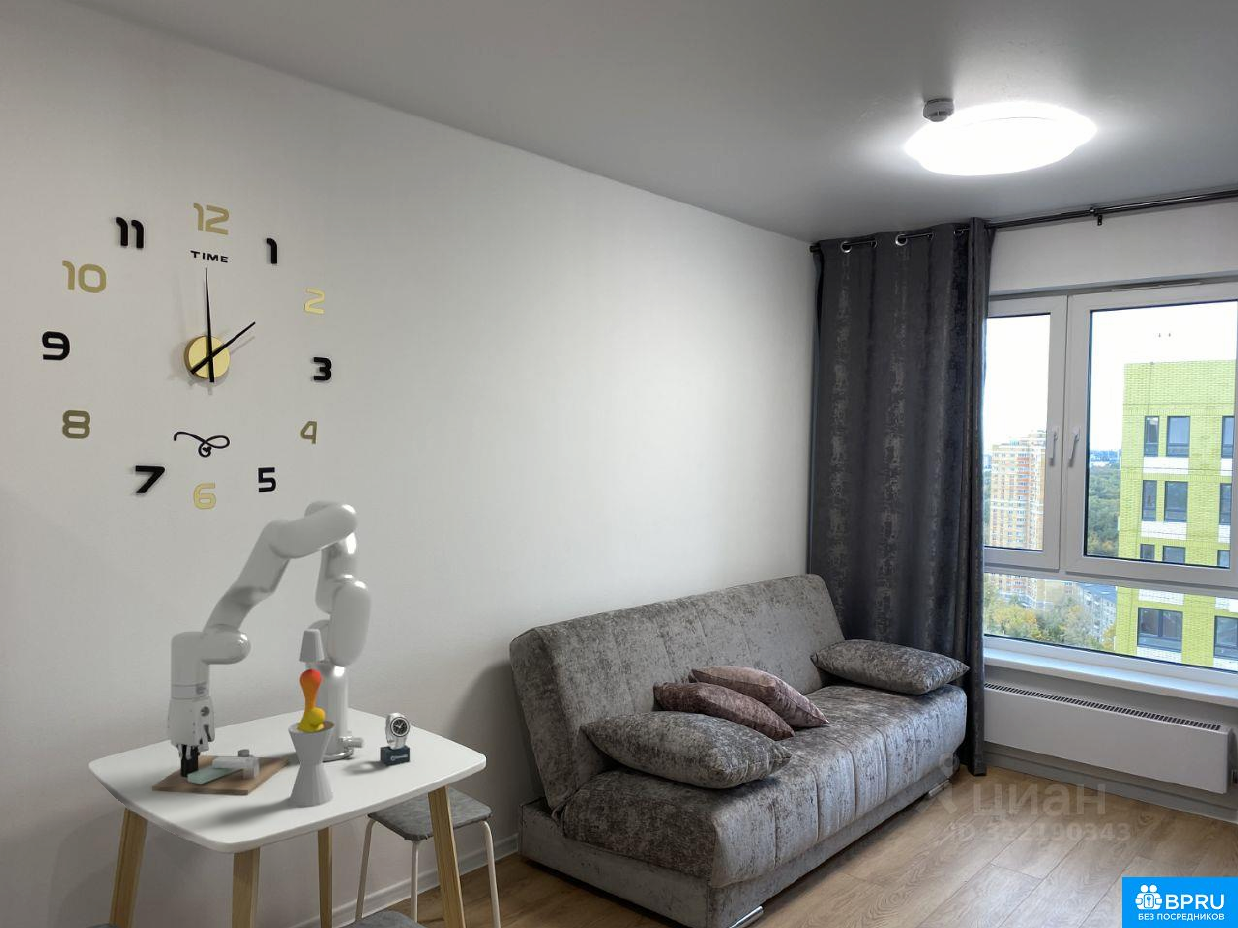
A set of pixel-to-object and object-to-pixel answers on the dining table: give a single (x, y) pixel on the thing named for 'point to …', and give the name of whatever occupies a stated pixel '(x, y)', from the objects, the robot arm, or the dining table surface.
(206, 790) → the board
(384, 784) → the dining table surface
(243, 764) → the keeper
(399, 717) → the watch
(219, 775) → the link
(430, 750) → the dining table surface
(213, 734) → the robot arm
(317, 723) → the lava lamp
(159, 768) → the dining table surface
